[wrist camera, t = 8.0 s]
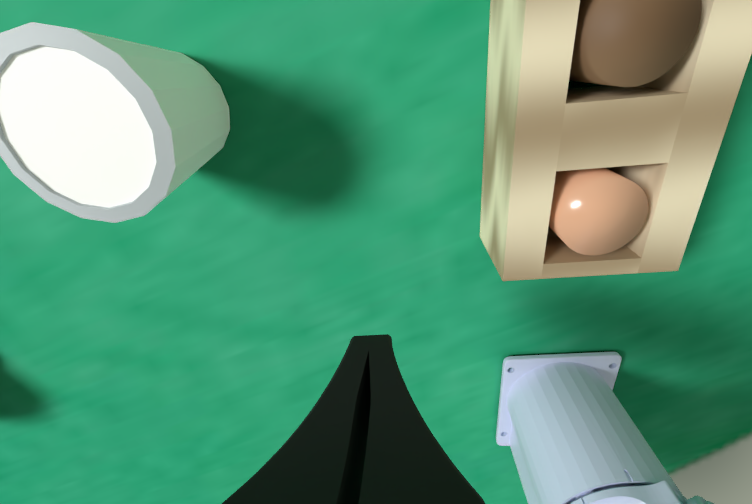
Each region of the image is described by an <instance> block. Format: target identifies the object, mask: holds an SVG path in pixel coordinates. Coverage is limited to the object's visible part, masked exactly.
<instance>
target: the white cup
mask: <svg viewBox="0 0 752 504" xmlns="http://www.w3.org/2000/svg"><path fill="white" fill-rule="evenodd" d="M229 131H230V115H229V106H228V104H227V101H226V99H225V96H224V94H223V92H222V89H221V87H220V85H219V84H218V83H217V81H216V80H215V79H214V78H213V77H212V75H211V74H210V73H209V72H208V71H207V70H206V68H205V67H204V66H203V65H201V64H199V63H198V62H196V61H194V60H193V59H191V58H189V57H188V56H186V55H184V54H183V53H179V52H175V51H170V50H166V49H161V48H157V47H152V46H148V45H143V44H139V43H135V42H130V41H126V40H121V39H117V38H112V37H108V36H103V35H99V34H94V33H90V32H86V31H81V30H77V29H71V28H65V27H59V26H53V25H46V24H40V23H34V22H31V23H28V24H25V25H22V26H19V27H17V28H14V29H11V30H8V31H5V32H2V33H0V156H1V157H2V159H3V160H4V162H5V163H6V164H7V166H8V167H9V169H10V170H11V171H12V173H13V174H14V175H15V176H16V177H17V178H19V179H20V180H21V181H22V182H23V183H25V184H26V185H27V186H28V187H29V188H31V189H32V190H33V191H34V192H35V193H37V194H38V195H39V196H40V197H41V198H43V199H44V200H45V201H46V202H48V203H51V204H53V205H55V206H57V207H59V208H61V209H63V210H65V211H68V212H70V213H72V214H74V215H76V216H78V217H80V218H85V219H92V220H99V221H106V222H113V223H116V222H121V221H125V220H129V219H133V218H137V217H141V216H145V215H146V214H147V213H148V212H149V211H150V210H152V209H153V208H154V207H155V206H156V205H157V204H159V203H160V202H161V201H162V200H163V199H164V198H166V197H167V196H168V195H169V194H170V193H171V192H173V191H174V190H175V189H176V188H177V187H178V186H180V185H181V184H182V183H183V182H184V181H185V180H186V179H188V178H189V177H190V176H191V175H192V174H193V173H195V172H196V171H197V170H198V169H199V168H200V167H202V166H203V165H204V164H205V163H206V162H207V161H209V160H210V159H211V158H212V157H213V156H214V155H215V154H216V153H218V152H219V151H220V150H221V149H222V148H223V147H224V144H225V141H226V139H227V136H228V134H229Z"/></svg>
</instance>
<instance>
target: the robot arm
mask: <svg viewBox="0 0 752 504" xmlns="http://www.w3.org/2000/svg"><path fill="white" fill-rule="evenodd" d="M621 360H622V358H621V356H620V355H619V354H618V353H617V352H594V353H572V354H550V355H527V356H509V357H507V358H505V359H504V361H503V368H502V378H501V389H500V399H499V410H498V420H497V431H496V441H497V444H498V445H500V446H510V447H511V451H512V454H513V457H514V460H515V463H516V467H517V470H518V473H519V476H520V479H521V482H522V486H523V489H524V492H525V495H526V498H527V502H528V504H714V503H712V502H709V501H706V500H705V499H703V498H702V497H699V496H694V497H693V498H690V499H688V500H687V499H686V498H685V497H684V496H683V495H682V494H681V492H680V491H679V489H678V488H677V486H676V485H675V483H674V482H673V480H672V479H671V477H670V476H669V474H668V473H667V471H666V470H665V468H664V467H663V465H662V464H661V462H660V461H659V459H658V458H657V456H656V455H655V453H654V452H653V451H652V449H651V448H650V446H649V445H648V443H647V442H646V440H645V439H644V437H643V436H642V434H641V433H640V431H639V430H638V428H637V427H636V425H635V424H634V422H633V421H632V419H631V418H630V416H629V415H628V413H627V412H626V410H625V409H624V408H623V406H622V405H621V403H620V402H619V400H618V399H617V397H616V396H615V394H614V393H613V387H614V384H615V380H616V377H617V374H618V370H619V367H620V363H621ZM509 368H511V369H509ZM222 504H485V503H484V501H483V499H482V498H481V496H480V495H479V494H478V493H477V492H476V491H475V489H474V488H473V487H472V486H471V485H470V484H469V482H468V481H467V480H466V479H465V478H464V476H463V475H462V474H461V473H460V472H459V470H458V469H457V468H456V466H455V465H454V464H453V463H452V461H451V460H450V459H449V457H448V456H447V454H446V453H445V452H444V450H443V449H442V447H441V446H440V444H439V443H438V442H437V440H436V439H435V437H434V436H433V434H432V433H431V431H430V430H429V428H428V426H427V425H426V423H425V421H424V420H423V418H422V416H421V415H420V413H419V411H418V409H417V407H416V406H415V404H414V402H413V400H412V398H411V396H410V394H409V392H408V390H407V387H406V385H405V383H404V381H403V378H402V376H401V373H400V371H399V368H398V365H397V362H396V359H395V356H394V352H393V348H392V339H391V336H389V335H369V336H354V337H353V338H352V339H351V341H350V344H349V346H348V348H347V350H346V353H345V355H344V357H343V359H342V361H341V363H340V365H339V367H338V368H337V370H336V372H335V374H334V376H333V377H332V379H331V381H330V383H329V384H328V386H327V387H326V389H325V391H324V392H323V394H322V395H321V397H320V398H319V400H318V401H317V403H316V404H315V406H314V407H313V409H312V410H311V411H310V413H309V414H308V415H307V417H306V418H305V419H304V421H303V422H302V423H301V425H300V426H299V427H298V428H297V429H296V431H295V432H294V433H293V434H292V435H291V437H290V438H289V439H288V440H287V441H286V443H285V444H284V445H283V446H282V447H281V448H280V449H279V450H278V451H277V452H276V453H275V454H274V455H273V456H272V458H271V459H270V460H269V461H268V462H267V463H266V464H265V465H264V466H263V467H262V468H261V469H260V470H259V471H258V472H257V473H256V474H255V475H254V476H253V477H251V478H250V479H249V480H248V481H247V482H246V483H245V484H244V485H243V486H241V487H240V488H239V489H238V490H237V491H236V492H235V493H233V494H232V495H231V496H230V497H229V498H228V499H227V500H225V501H224V502H223V503H222Z"/></svg>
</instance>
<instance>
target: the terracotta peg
mask: <svg viewBox="0 0 752 504" xmlns="http://www.w3.org/2000/svg"><path fill="white" fill-rule="evenodd" d="M647 214H648V199H647V196H646V194H645V192H644V191H643V189H642V188H641V187H640V186H639V185H638V184H636V183H635V182H633V181H631V180H629V179H627V178H625V177H623V176H621V175H619V174H617V173H615V172H613V171H611V170H609V169H607V168H594V169H581V170H568V171H556V176H555V184H554V191H553V198H552V205H551V212H550V219H549V227H550V228H551V229H552V230H553V231H554V232H555V233H556V235H557V236H558V237H559V238H560V239H561V240H562V241H563V242H564V243H565V244H566V245H567V246H568V247H569V248H570V249H572V250H573V251H575V252H577V253H580V254H583V255H602V254H607V253H610V252H613V251H615V250H617V249H619V248H621V247H623V246H624V245H626V244H627V243H628V242H630V241H631V240H632V239H633V238H634V237H635V236H636V235H637V234H638V232H639V231H640V230H641V228H642V227H643V225H644V223H645V221H646V218H647Z"/></svg>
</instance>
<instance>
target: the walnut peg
mask: <svg viewBox="0 0 752 504" xmlns="http://www.w3.org/2000/svg"><path fill="white" fill-rule="evenodd" d="M701 11H702V0H580V5H579V12H578V19H577V26H576V34H575V41H574V48H573V55H572V62H571V69H570V76H569V81H577V82H585V83H594V84H602V85H610V86H619V87H635V86H640V85H644V84H647V83H649V82H651V81H653V80H655V79H657V78H659V77H660V76H662V75H663V74H665V73H666V72H667V71H669V70H670V69H671V68H672V67H673V66H674V65H675V64H676V63H677V62H678V61H679V60H680V59H681V58H682V56H683V55H684V54H685V53H686V51H687V50H688V48H689V47H690V45H691V43H692V41H693V39H694V37H695V35H696V32H697V30H698V27H699V23H700V19H701Z"/></svg>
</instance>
